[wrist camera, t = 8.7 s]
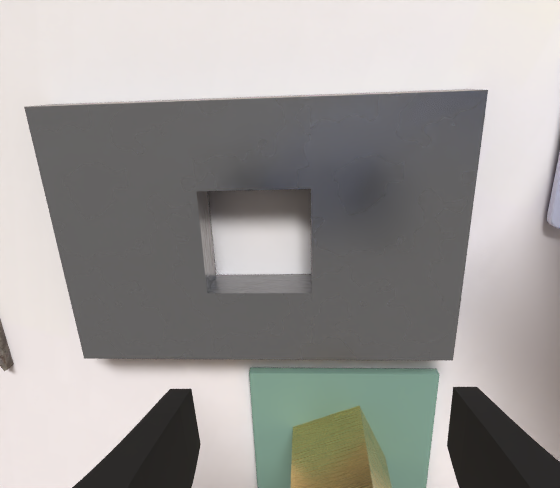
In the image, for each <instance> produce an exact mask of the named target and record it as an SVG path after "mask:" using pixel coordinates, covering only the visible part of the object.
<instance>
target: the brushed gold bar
mask: <svg viewBox="0 0 560 488" xmlns="http://www.w3.org/2000/svg"><path fill="white" fill-rule="evenodd" d="M291 488H392V486H391V481H390V477H389V472H388V467H387V462H386V458H385V455H384V453H383V451H382V449H381V447H380V445H379V443H378V441H377V439H376V437H375V435H374V433H373V431H372V429H371V427H370V425H369V423H368V421H367V419H366V417H365V415H364V413H363V411H362V409H361V407H360V405H359V406H356V407H353V408H350V409H347V410H344V411H340V412H337V413H334V414H331V415H328V416H325V417H322V418H319V419H316V420H313V421H310V422H307V423H303V424H300V425H297V426H294V427H293V437H292V463H291Z"/></svg>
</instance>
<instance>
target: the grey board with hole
mask: <svg viewBox="0 0 560 488" xmlns="http://www.w3.org/2000/svg"><path fill="white" fill-rule="evenodd" d="M487 93H488V90H474V89H463V90H436V91H408V92H381V93H354V94H326V95H299V96H271V97H244V98H217V99H189V100H162V101H135V102H107V103H80V104H52V105H41V106H29V107H25V112H26V116H27V120H28V124H29V128H30V133H31V137H32V141H33V145H34V149H35V154H36V158H37V162H38V166H39V170H40V175H41V179H42V183H43V187H44V191H45V196H46V200H47V204H48V208H49V212H50V217H51V221H52V225H53V229H54V233H55V237H56V242H57V246H58V250H59V254H60V258H61V263H62V267H63V271H64V275H65V279H66V284H67V288H68V292H69V296H70V300H71V305H72V309H73V313H74V317H75V321H76V326H77V330H78V334H79V338H80V342H81V347H82V351H83V355H84V358H104V359H297V360H453V355H454V347H455V339H456V332H457V324H458V316H459V309H460V301H461V293H462V286H463V278H464V270H465V263H466V255H467V247H468V240H469V232H470V224H471V216H472V209H473V201H474V193H475V186H476V178H477V170H478V163H479V155H480V147H481V140H482V132H483V124H484V117H485V109H486V101H487ZM283 189H311V274H283V275H216V270H215V260H214V250H213V239H212V229H211V219H210V209H209V199H208V191H237V190H283Z"/></svg>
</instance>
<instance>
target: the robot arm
mask: <svg viewBox="0 0 560 488" xmlns="http://www.w3.org/2000/svg"><path fill="white" fill-rule="evenodd" d="M547 221H548V223H549V224H550V225H552V226H554V227H555V228H560V152H559V157H558V163H557V168H556V173H555V178H554V183H553V188H552V193H551V198H550V203H549V208H548V214H547ZM447 447H448V450H449V454H450V458H451V461H452V465H453V468H454V472H455V475H456V479H457V482H458V485H459V488H560V462H559V461H558V460H557V459H555V458H554V457H553V456H552V455H551V454H550V453H548V452H547V451H546V450H545V449H544V448H543V447H541V446H540V445H539V444H538V443H537V442H536V441H535V440H533V439H532V438H531V437H530V436H529V435H528V434H527V433H526V432H525V431H523V430H522V429H521V428H520V427H519V426H518V425H517V424H516V423H515V422H514V421H513V420H512V419H510V418H509V417H508V416H507V415H506V414H505V413H504V412H503V411H502V410H501V409H500V408H499V407H498V406H497V405H496V404H495V403H493V402H492V401H491V400H490V399H489V398H488V397H487V396H486V395H485V394H484V393H483V392H482V391H481V390H480V389H479V388H477V387H453V395H452V405H451V414H450V424H449V433H448V443H447ZM199 449H200V439H199V433H198V427H197V421H196V415H195V409H194V403H193V396H192V390H191V389H170V390H169V391H168V392H167V393H166V394H165V395H164V396H163V397H162V398H161V399H160V400H159V401H158V403H157V404H156V405H155V406H154V407H153V408H152V409H151V410H150V411H149V412H148V413H147V415H146V416H145V417H144V418H143V419H142V420H141V421H140V422H139V423H138V424H137V425H136V426H135V427H134V429H133V430H132V431H131V432H130V433H129V434H128V435H127V436H126V437H125V438H124V439H123V440H122V441H121V442H120V443H119V444H118V445H117V446H116V447H115V448H114V449H113V450H112V451H111V452H110V453H109V454H108V455H107V456H106V457H105V458H104V459H103V460H102V461H101V462H100V463H99V464H98V465H97V466H96V467H94V468H93V469H92V470H91V471H90V472H89V473H88V474H87V475H86V476H85V477H84V478H83V479H82V480H80V481H79V482H78V483H77V484H76V485H75V486H74V487H72V488H191V486H192V483H193V479H194V474H195V470H196V465H197V460H198V455H199Z"/></svg>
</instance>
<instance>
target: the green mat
mask: <svg viewBox="0 0 560 488" xmlns="http://www.w3.org/2000/svg"><path fill="white" fill-rule="evenodd" d="M249 378H250V391H251V404H252V418H253V431H254V445H255V458H256V471H257V485H258V488H291V463H292V437H293V427H294V426H297V425H300V424H303V423H307V422H310V421H313V420H316V419H319V418H322V417H325V416H328V415H331V414H334V413H337V412H340V411H344V410H347V409H350V408H353V407H356V406H359V405H360V407H361V409H362V411H363V413H364V415H365V417H366V419H367V421H368V423H369V425H370V427H371V429H372V431H373V433H374V435H375V437H376V439H377V441H378V443H379V445H380V447H381V449H382V451H383V453H384V455H385V458H386V462H387V467H388V472H389V477H390V481H391V486H392V488H426V483H427V475H428V466H429V458H430V449H431V441H432V432H433V424H434V415H435V407H436V399H437V390H438V382H439V373H438V371H437V369H400V368H250V372H249Z"/></svg>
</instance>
